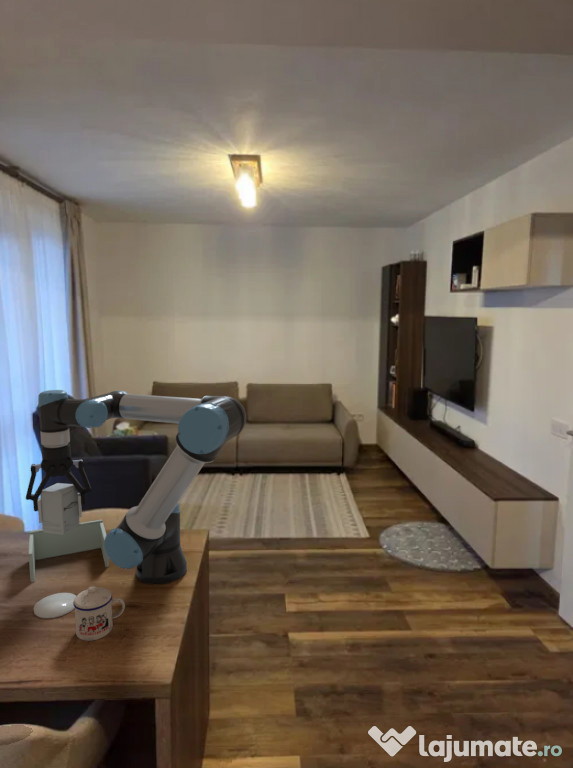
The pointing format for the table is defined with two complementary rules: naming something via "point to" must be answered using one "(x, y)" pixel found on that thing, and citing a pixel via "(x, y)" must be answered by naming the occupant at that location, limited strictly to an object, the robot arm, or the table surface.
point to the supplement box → (59, 508)
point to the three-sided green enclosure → (66, 543)
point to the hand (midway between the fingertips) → (60, 518)
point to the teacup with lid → (95, 613)
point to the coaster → (55, 605)
